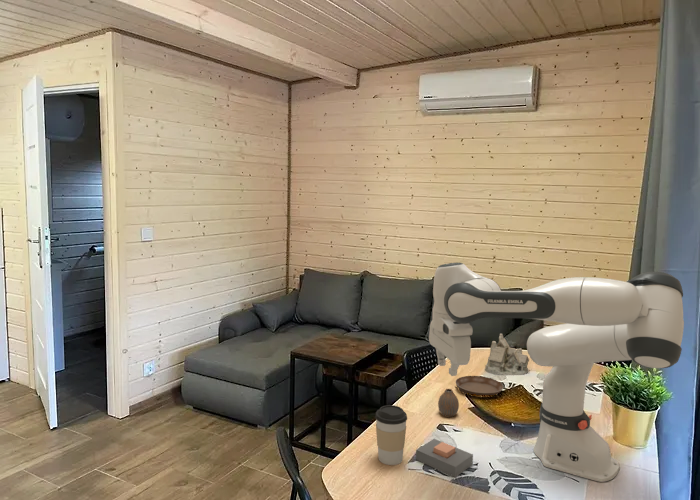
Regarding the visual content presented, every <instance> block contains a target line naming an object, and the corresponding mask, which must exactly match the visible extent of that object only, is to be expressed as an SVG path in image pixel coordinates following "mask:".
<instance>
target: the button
mask: <svg viewBox="0 0 700 500" xmlns="http://www.w3.org/2000/svg"><path fill="white" fill-rule="evenodd" d="M455 447H456V446H453V445H451V444H449V443H446V442H444V441H441V443H440V444H438V445H437V446H435V447H434V449H433V453H435V454H437V455H440V456H442V457H444V458H449V457H450V456H452V455H453V454H455Z"/></svg>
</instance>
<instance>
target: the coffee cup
mask: <svg viewBox="0 0 700 500" xmlns="http://www.w3.org/2000/svg"><path fill="white" fill-rule="evenodd" d="M375 420H376V423H375V432H376V444H377V445H376V446H377V454H378V455H377V456H378V460H379V462H380V463H382V464H384V465H387V466H388V465H389V466H396V465H399V464H401V463H403V457H404V448H405V443H406V434H407V433H406V432H407V431H406V430H407V420H408V415H407V413H406V411H404V409H403V408H402V407H400V406H398V405H392V404H390V405H389V404H387V405H383V406H380V408H378V409H377V410H376V411H375Z"/></svg>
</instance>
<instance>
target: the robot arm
mask: <svg viewBox="0 0 700 500" xmlns="http://www.w3.org/2000/svg"><path fill="white" fill-rule="evenodd" d="M433 277H434V278H433V286H432V288H433V289H432V297H433V301H434V302H433V307H432V320H431V321H430V324H429V333H428V334H429V335H428V340H429V344H430V345H431V346H432V347H434V348H435V353H436V356H437V364H438V365H439V366H440V367H445V366H446V358H447V359H448V360H449V363H450V367H449V368H448V374H449V375H450V376H451V377H456V376H457V375H458V369H459V367H460V366H467V365H468V364H469V362H470V361H471V360H470V359H471V351H472V349H471V348H472V341H471V337H470V336H472V335H473V326H472V325H471V324H470V323H473V322H475V321H477V320H480V319H485V318H493V319H495V318H496V319H497V318H498V319H499V318H500V319H528V320H529V319H530V320H531V319H532V320H538V321H546V322H547V321H548V322H555V323H561V324H556V325H550V326H545V327H543V328H540V329H538V330H536V331H533V332H532V333H531V334H530V335H529V336H528V338H527V341H526V350H527V354H528V357H529V359H530V360H531V361H532V362H534V363H535V365H537V366H540V367H547V368H548V367H552V368H551V369H550V371H549V372H547V374H546V375H545V377H544V379H543V384H542V386H543V387H542V401H541V404H540V407H539V424H540V425H539V429H538V434H537V438H536V440H535V444H534V446H533V452H534V454H535V456H537V458H539V460H540V461H541V462H542V465H543V467H546V468H549V469H553V470H555V471H560V472H563V473H566V474H570V475H574V476H577V477H581V478H585V479H588V480H592V481H595V482H597V483H598V482H600V483H605V482H608V481H611V480H612V479H614V478H615V477H616V476H617V475H618V474H619V472H620V463H619V462H618V459H617V458H616V459H615V458H614V457H612V456H611V448H610V445H609V443H608V441H606V440H605V439H604V438H603V437H602V436H601V435H600V434H599V433H598V432H597V431H596V430H595V429H594V428H593V427H592V426H591V421H592V418H593V417H592V414H590V415H589V416H588V414H587V413H586V412H585V410H584V407H585V396H586V395H585V394H586V388H587V383H588V380H589V376H590V374H591V371H592V370H593V369H592V368H593V366H594V364H595V363H596V364H597V363H601V362H603V363H604V362H616V361H617V362H620V361H633V362H634V363H636V364H638V365H640V366H643V367H647V368H650V369H651V368H652V369H667V368H671V367H673V366H674V365H675V364H677V363H678V362H679V360H680V357H681V355H682V351H683V348H682V346H681V345H682V341H683V337H684V336H683V335H684V327H685V321H684V305H683V303H684V302H683V297H684V291H683V287H682V284H681V282H680V280H679V279H678V278H677V277H675V276H674V275H672V274H669V273H667V272H662V271H647V272H642V273H640V274H637V275H635V276H634V277H632V278H631V279H629V280H627V281H623V280H618V279H613V278H603V277H588V276H586V277H585V276H583V277H582V276H581V277H580V276H578V277H577V276H576V277H567V278H559V279H555V280H553V281H549V282H547V283H544V284H542V285H539V286H536V287H533V288H529V289H524V290H502V289H501V287H500V285H499V284H498V283H497V281H495V280H493V279H492V278H489V277H486V276H483V275H480V274H479V273H476V272H474V271H473V270H471V269H470V268H468V266H467V265H466V264H465V263H462V262H449V263H444V264H440V265H438V267H437V268H436V270H435V272H434V276H433Z"/></svg>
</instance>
